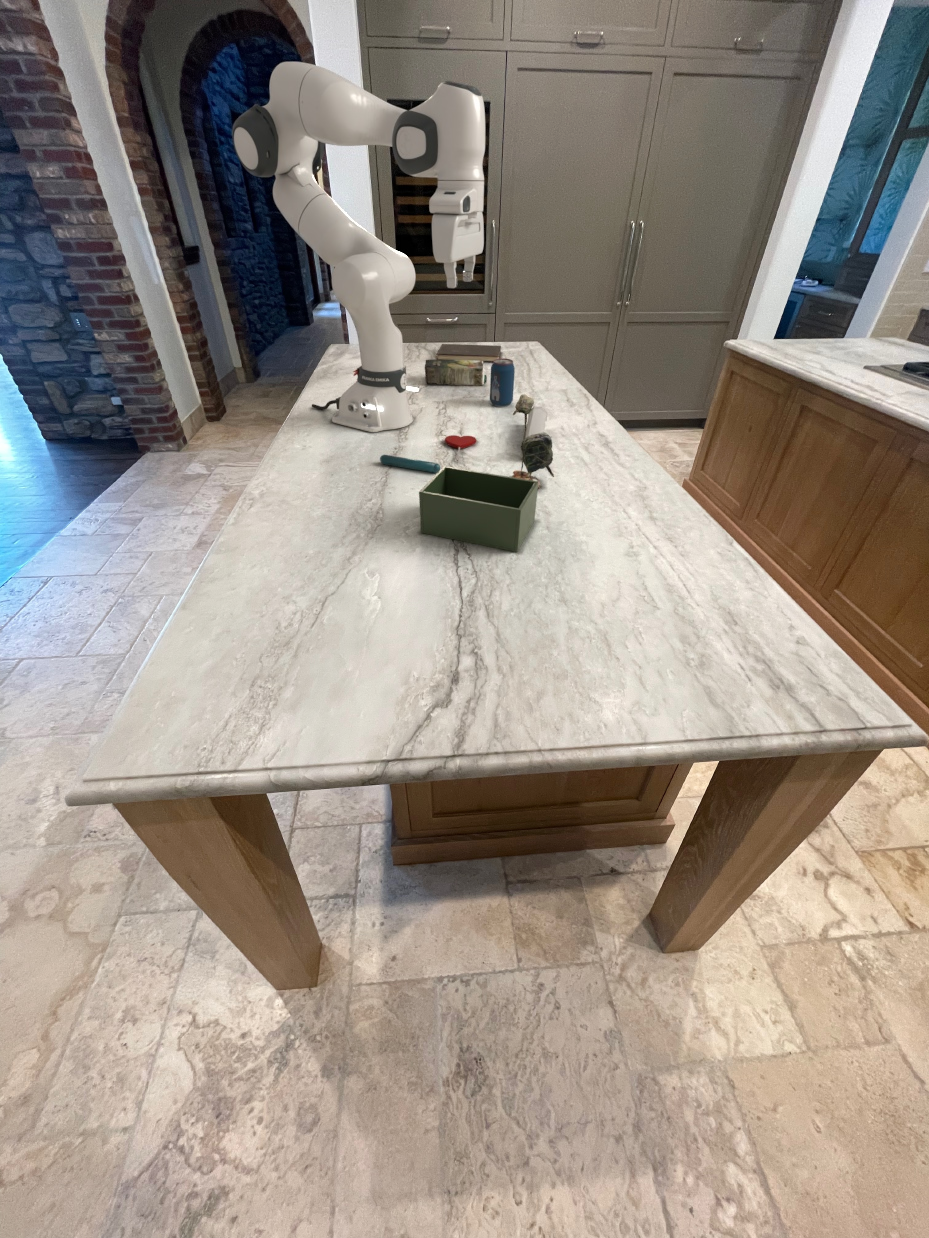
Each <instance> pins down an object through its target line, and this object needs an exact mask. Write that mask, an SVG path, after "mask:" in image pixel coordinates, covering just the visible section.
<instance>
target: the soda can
mask: <svg viewBox="0 0 929 1238" xmlns="http://www.w3.org/2000/svg"><path fill="white" fill-rule="evenodd" d="M515 371H516V368H515V365H514V360H513V359H510V358H504V357H503V358H499V359H495V360H493V362H492V363H491V366H490V380H489V381H490V382H489V401H490V403H491V405H492V406H494V407H499V408H506V407H509V406H511V404H512V402H513V401H514V387H515Z"/></svg>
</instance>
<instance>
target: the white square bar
mask: <svg viewBox="0 0 929 1238" xmlns="http://www.w3.org/2000/svg"><path fill="white" fill-rule="evenodd" d="M547 420H548V411H547V410H546V409H544V407H542V406H532V409H531V411H530V413H529V414H527V423H526V424H527V425H526V427H527V429H526V438H527V437H528V436H530V435H533V434H534V435H535V434H538V433H543V432H544V433H545V428H546V422H547Z"/></svg>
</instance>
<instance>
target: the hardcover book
mask: <svg viewBox="0 0 929 1238" xmlns="http://www.w3.org/2000/svg"><path fill="white" fill-rule="evenodd" d="M501 349H502V346H501V345H490V344H489V345H487V344H458V343H442V344H441V345H440V347H439V348H438V351H437V353H436V355H437V358H436V360H475V361H483V363H493V360H495V359H500V356H501Z"/></svg>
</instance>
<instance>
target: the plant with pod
mask: <svg viewBox="0 0 929 1238" xmlns="http://www.w3.org/2000/svg"><path fill="white" fill-rule="evenodd" d="M534 402H535V400H534V399H533V398H532V397H531V396H528V395H527V394H520V396H519V399H518V401H517V402H516V404H515V406H514V408H515V410H514V411H513V413H512V415H513V416H515V415H516V414H517V413H518V414H523V415H524V431H523V432H524V434H523V439H522V441H521V444H520V450H521V455H522V458H521V468H520V470H513V471H512V475H509V476H508V477H514V478H520V479H526V480H532V481H538V489H540V488H542V485H541V482H540V480H539V478H538V477H536V476H534V475H532V474H533V473H535V472H537V471H539V470H544V469H545V468H546V470H547V471H548V473H549V474H550V476H551V477H553V478H554V477H555V474H554V473H553V471H552V469H551V467H550V465H552V463H553V461H554V458H553V457H554V452H553V439H552V436H550V435H549V434H548V433H546V432H545V431H544V432H543V433H538V434H535V435H534V434H533V435H530V436H528V437H527V438H526V429H527V427H526V426H527V422H528V414H529V413H530V411H531V409H532V408H533V407H534ZM524 466H525V469H526V471H523V468H524Z"/></svg>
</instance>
